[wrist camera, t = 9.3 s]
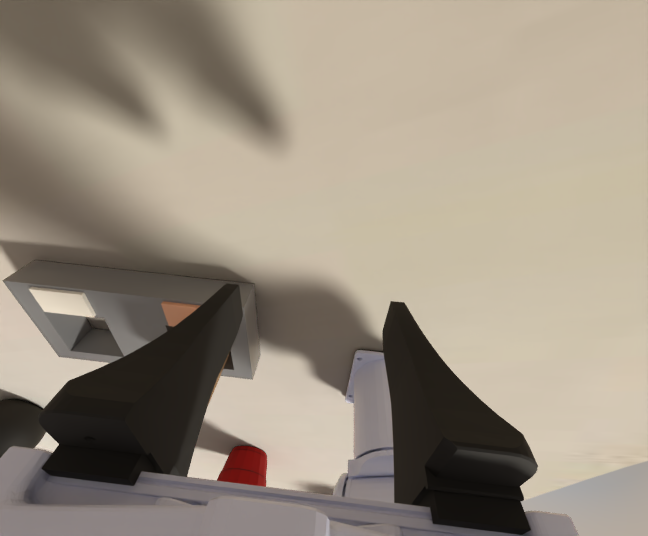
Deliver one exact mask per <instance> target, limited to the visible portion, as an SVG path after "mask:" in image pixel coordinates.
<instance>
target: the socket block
mask: <svg viewBox="0 0 648 536" xmlns="http://www.w3.org/2000/svg"><path fill="white" fill-rule="evenodd" d="M3 282H4V283H5V285H6V286H7V287H8V289H9V290H10V291H11V293H12V294H13V295H14V297H15V298H16V300H17V301H18V302H19V304H20V305H21V306H22V308H23V309H24V310H25V312H26V313H27V314H28V316H29V317H30V318H31V320H32V321H33V322H34V324H35V325H36V326H37V328H38V329H39V330H40V332H41V333H42V334H43V336H44V337H45V339H46V340H47V341H48V343H49V344H50V345H51V347H52V348H53V349H54V351H55V352H56V353H57V355H58V356H59V357H65V358H73V359H82V360H90V361H99V362H108V363H112V362H114V361H116V360H118V359H120V358H122V357H124V356H126V355H128V354H130V353H132V352H134V351H135V350H137V349H139V348H141V347H142V346H144V345H146V344H148V343H149V342H151V341H153V340H155V339H156V338H158V337H159V336H161V335H162V334H164V333H166V332H167V331H169V330H170V329H171V328H173V327H174V326H176V325H177V324H178V323H180V322H181V321H182V320H184V319H185V318H186V317H187V316H189V315H190V314H191V313H193V312H194V311H195V310H196V309H197V308H199V307H200V306H201V305H202V304H203V303H205V302H206V301H207V300H208V299H209V298H210V297H211V296H213V295H214V294H215V293H216V292H217V291H218V290H219V289H220V288H222V287H223V286H224V285H225V284H226V283H228V284H237V285H239V287H240V295H241V303H242V310H243V318H242V321H241V324H240V328H239V331H238V334H237V336H236V338H235V341H234V343H233V345H232V347H231V351H230V354H229V356H228V359H227V361H226V363H225V366H224V368H223V371H222V373H221V375H220V376H227V377H236V378H244V379H253V377H254V374H255V371H256V367H257V364H258V361H259V358H260V345H259V334H258V322H257V311H256V300H255V288H254V284H250V283H240V282H231V281H222V280H213V279H204V278H195V277H186V276H177V275H167V274H158V273H149V272H140V271H131V270H122V269H113V268H104V267H94V266H85V265H76V264H67V263H58V262H49V261H40V260H34V261H32V262H31V263H29V264H28V265H26V266H25V267H23V268H21V269H20V270H18V271H17V272H15V273H14V274H12V275H10V276H9V277H7V278H6V279H4V280H3ZM86 317H97V318H104V320H105V321H106V323H107V325H108V327H109V329H110V330H103V329H94V328H92V327H91V325H90V324H89V322H88V320H87V318H86Z"/></svg>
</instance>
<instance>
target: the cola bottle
mask: <svg viewBox="0 0 648 536" xmlns="http://www.w3.org/2000/svg"><path fill="white" fill-rule="evenodd" d="M41 411H42V409H41V408H39V407H38V406H36V405H34V404H31V403H28V402H25V401H21V400H14V399H9V400H2V401H0V458H1V457H2V456H3V455H4V453H5V452H6V451H7V450H8V449H9V448H10V447H13V446H17V447H25V448H34V447H35V446H36V445H37V444H38V443H39V442H40V441H41V439H42V438H43V436H44V434H45V433H46V431H45V430H44V429H43V428H42V426H41V425H40V424H39V420H38V416H39V414H40V413H41Z"/></svg>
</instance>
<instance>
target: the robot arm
mask: <svg viewBox="0 0 648 536" xmlns="http://www.w3.org/2000/svg"><path fill="white" fill-rule="evenodd" d="M242 318H243V310H242V303H241V295H240V287H239V285H237V284H228V283H226V284H225V285H224V286H223V287H222V288H220V289H219V290H218V291H217V292H216V293H215V294H214V295H213V296H211V297H210V298H209V299H208V300H207V301H206V302H205V303H203V304H202V305H201V306H200V307H199V308H197V309H196V310H195V311H194V312H193V313H191V314H190V315H189V316H187V317H186V318H185V319H184V320H182V321H181V322H180V323H178V324H177V325H176V326H174V327H173V328H171V329H170V330H169V331H167V332H166V333H164V334H162V335H161V336H159V337H158V338H156V339H155V340H153V341H151V342H149V343H148V344H146V345H144V346H142V347H141V348H139V349H137V350H135V351H134V352H132V353H130V354H128V355H126V356H124V357H122V358H120V359H118V360H116V361H114V362H112V363H110V364H107V365H105V366H103V367H101V368H99V369H96V370H94V371H91V372H89V373H87V374H84V375H82V376H79V377H77V378H75V379H72V380H69V381H68V382H67V383H66V384H65V385H64V386H63V388H62V389H61V390H60V391H59V392H58V393H57V394H56V395H55V397H54V398H53V399H52V400H51V401H50V402H49V403H48V405H47V406H46V407H45V408H44V409H43V410H42V411H41V413H40V414H39V416H38V420H39V424H40V425H41V426H42V428H43V429H44V430H45V431H46V432H47V433H48V434H49V435H51V436H52V437H53V438H54V439H55V440H56V441H57V442H58V443H59V446H58V447H57V448H56V449H55V451H54V452H53V453H51V452H48V451H46V450H41V449H33V448H25V447H17V446H13V447H10V448H9V449H8V450H7V451H6V452H5V453H4V455H3V456H2V457H1V458H0V536H579V534H578V532H577V530H576V528H575V526H574V524H573V522H572V519H571V518H570V517H569V516H568V515H565V514H557V513H549V512H540V511H528V512H524V510H523V507H522V505H521V502H520V501H523V500H524V497H523V494H522V491H521V489H520V486H521V485H522V484H523V483H524V482H526V481H527V480H528V479H530V478H531V477H532V476H533V475H534V474H535V473H536V471H537V467H538V465H537V463H536V461H535V459H534V456H533V454H532V452H531V449H530V447H529V445H528V443H527V442H526V440H525V438H524V436H523V434H522V433H520V432H519V431H518V430H517V429H515V428H514V427H513V426H511V425H510V424H509V423H508V422H506V421H505V420H504V419H503V418H501V417H500V416H499V415H497V414H496V413H495V412H494V411H493V410H492V409H490V408H489V407H488V406H487V405H486V404H485V403H484V402H482V401H481V400H480V399H479V398H478V397H477V396H476V395H475V394H474V393H473V392H472V391H471V390H470V389H469V388H468V387H467V386H466V385H465V384H464V383H463V382H462V381H461V380H460V379H459V378H458V377H457V376H456V375H455V374H454V373H453V372H452V371H451V369H450V368H449V367H448V366H447V365H446V364H445V362H444V361H443V360H442V359H441V357H440V356H439V355H438V354H437V352H436V351H435V350H434V348H433V347H432V345H431V344H430V343H429V341H428V340H427V338H426V337H425V335H424V334H423V332H422V331H421V329H420V328H419V326H418V325H417V323H416V321H415V320H414V318H413V316H412V315H411V313H410V311H409V310H408V308H407V306H406V305H405V303H402V302H393V301H391V303H390V306H389V310H388V314H387V317H386V321H385V324H384V328H383V353H382V352H374V351H365V350H357V351H356V352H355V355H354V360H353V364H352V369H351V374H350V378H349V383H348V388H347V392H346V397H345V401H346V402H347V403H354V460H348V473H344V474H342V475H341V476H340V478H339V480H338V482H337V483H336V485H335V487H334V491H333V495H327V494H319V493H311V492H303V491H295V490H287V489H279V488H271V487H263V486H255V485H247V484H239V483H231V482H223V481H215V480H207V479H199V478H191V477H187V474H188V470H189V467H190V463H191V459H192V456H193V452H194V448H195V445H196V442H197V438H198V435H199V431H200V428H201V425H202V422H203V419H204V415H205V412H206V409H207V406H208V403H209V400H210V397H211V394H212V391H213V388H214V385H215V383H216V380H217V378H218V376H219V373H220V371H221V369H222V367H223V365H224V363H225V360H226V358H227V356H228V354H229V352H230V350H231V347H232V345H233V343H234V341H235V338H236V336H237V334H238V331H239V328H240V324H241V321H242Z"/></svg>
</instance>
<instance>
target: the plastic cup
mask: <svg viewBox="0 0 648 536" xmlns="http://www.w3.org/2000/svg"><path fill="white" fill-rule="evenodd" d="M266 469H267V455H266V453H265V452H263V451H262V450H260V449H258V448H256V447H251V446H237V447H235V448H233V450H232V452H231V453H230V455H229V457H228V459H227V461H226V463H225V465H224V468H223V470H222V471H221V473H220V475H219V477H218V479H217V481H223V482H231V483H239V484H247V485H255V486H263V487H266Z"/></svg>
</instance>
